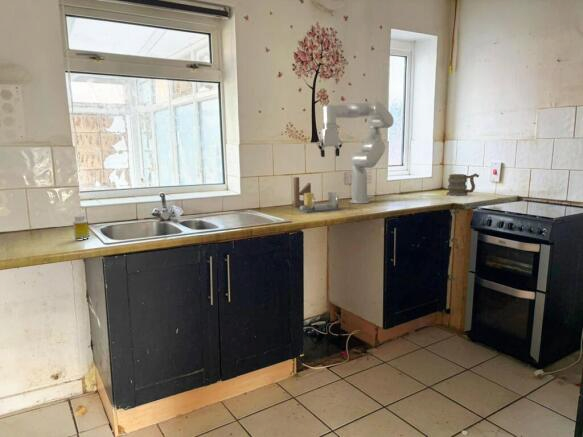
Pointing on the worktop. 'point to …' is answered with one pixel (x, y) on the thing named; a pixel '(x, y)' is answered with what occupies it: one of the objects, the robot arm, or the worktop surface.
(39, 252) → the worktop surface
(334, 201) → the trammel beam
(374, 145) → the robot arm
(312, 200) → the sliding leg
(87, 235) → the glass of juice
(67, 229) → the worktop surface
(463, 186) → the tankard
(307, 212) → the bolt plate
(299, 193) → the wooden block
